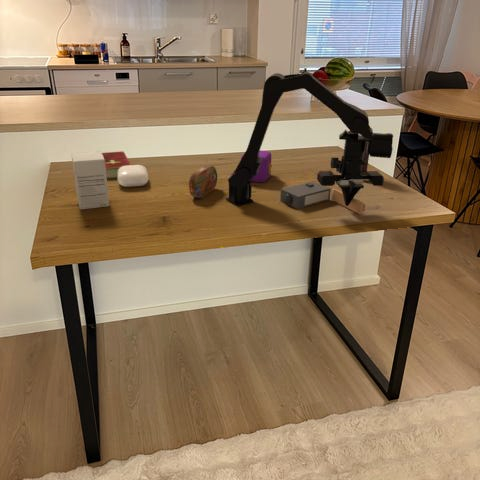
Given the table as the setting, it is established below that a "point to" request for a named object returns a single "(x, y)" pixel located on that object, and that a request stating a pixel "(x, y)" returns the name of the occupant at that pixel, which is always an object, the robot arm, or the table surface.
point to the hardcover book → (114, 162)
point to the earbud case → (132, 175)
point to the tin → (203, 181)
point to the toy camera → (263, 167)
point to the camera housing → (305, 194)
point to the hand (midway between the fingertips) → (346, 205)
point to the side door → (354, 204)
